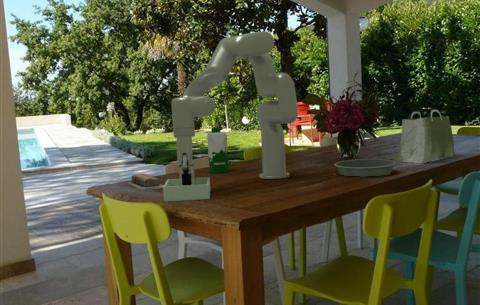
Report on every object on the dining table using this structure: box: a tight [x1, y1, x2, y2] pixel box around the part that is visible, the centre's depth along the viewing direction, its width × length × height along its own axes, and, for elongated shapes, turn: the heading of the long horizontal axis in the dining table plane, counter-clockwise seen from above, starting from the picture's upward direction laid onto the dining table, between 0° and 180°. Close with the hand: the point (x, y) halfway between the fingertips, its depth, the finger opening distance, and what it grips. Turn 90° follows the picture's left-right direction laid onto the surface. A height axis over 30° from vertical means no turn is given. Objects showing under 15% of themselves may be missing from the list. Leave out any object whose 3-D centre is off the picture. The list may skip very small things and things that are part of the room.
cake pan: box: [333, 158, 397, 178], centre depth 218 cm, size 25×25×4 cm
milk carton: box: [206, 127, 229, 175], centre depth 240 cm, size 9×9×20 cm
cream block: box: [178, 163, 196, 186], centre depth 188 cm, size 5×5×8 cm
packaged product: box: [127, 173, 165, 192], centre depth 213 cm, size 18×5×10 cm
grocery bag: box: [396, 109, 455, 164], centre depth 246 cm, size 32×14×23 cm, turn 134°
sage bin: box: [162, 176, 211, 202], centre depth 189 cm, size 16×16×5 cm
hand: (187, 183), depth 189 cm, fingers closed on cream block, 5 cm apart
